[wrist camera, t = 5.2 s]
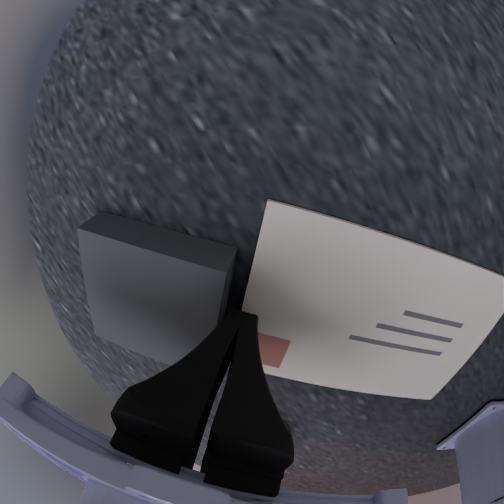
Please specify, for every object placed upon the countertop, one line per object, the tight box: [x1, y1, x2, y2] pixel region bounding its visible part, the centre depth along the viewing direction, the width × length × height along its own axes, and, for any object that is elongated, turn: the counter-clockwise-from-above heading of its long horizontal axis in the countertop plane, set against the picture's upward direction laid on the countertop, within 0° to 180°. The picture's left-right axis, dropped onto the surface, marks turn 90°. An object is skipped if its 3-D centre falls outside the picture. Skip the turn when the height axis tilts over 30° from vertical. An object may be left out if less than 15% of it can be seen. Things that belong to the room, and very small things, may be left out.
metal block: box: [77, 211, 238, 366], centre depth 14 cm, size 7×7×2 cm
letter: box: [241, 199, 504, 400], centre depth 13 cm, size 14×10×1 cm
